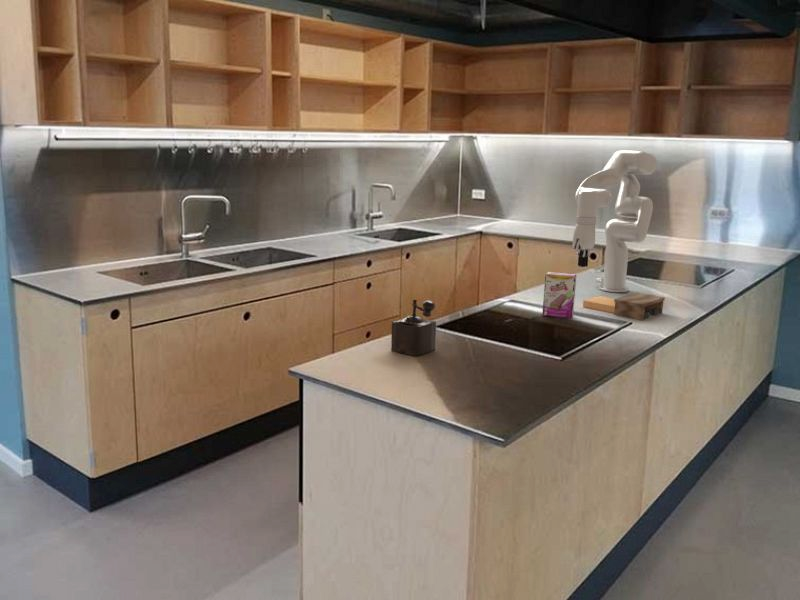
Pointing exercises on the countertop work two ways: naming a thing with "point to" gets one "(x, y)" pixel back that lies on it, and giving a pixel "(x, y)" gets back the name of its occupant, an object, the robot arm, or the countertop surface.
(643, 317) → the walnut shelf
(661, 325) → the countertop surface
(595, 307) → the orange cover
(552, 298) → the candy bar box
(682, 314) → the countertop surface
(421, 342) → the black manual coffee grinder
